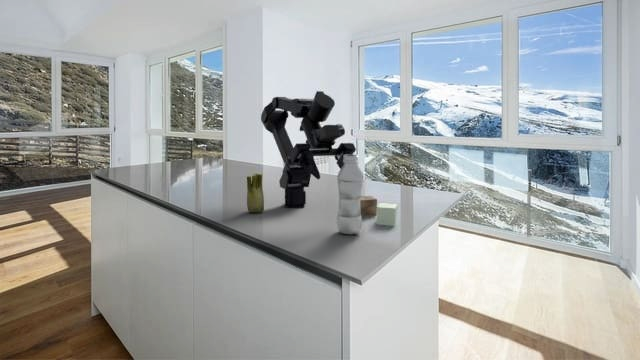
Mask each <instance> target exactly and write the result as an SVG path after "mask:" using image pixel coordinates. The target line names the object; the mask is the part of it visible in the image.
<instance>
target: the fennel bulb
mask: <svg viewBox="0 0 640 360" xmlns="http://www.w3.org/2000/svg"><path fill="white" fill-rule="evenodd" d="M246 186H247V189H246V190H247V191H246V192H247V193H246V207H247V211H248V213H253V214H257V213H262V212H263V211H264V210H265V207H264V206H265V196H264V191H263V174H261V173H254V174H252V176H251V175H247V176H246Z"/></svg>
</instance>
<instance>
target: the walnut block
mask: <svg viewBox="0 0 640 360" xmlns="http://www.w3.org/2000/svg"><path fill="white" fill-rule="evenodd" d="M360 199H361V201H360V208H361V217H365V216H366V217H369V216H370V215H371V216H377V206H378V199H377V198H375V197H374V196H372V195H361V198H360Z"/></svg>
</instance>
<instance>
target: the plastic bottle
mask: <svg viewBox="0 0 640 360" xmlns="http://www.w3.org/2000/svg"><path fill="white" fill-rule="evenodd" d="M359 162H360V161H359V155H358V154H353V155H343V163H344V165H343V167H342V168H341V169H340V168H339V171H338V173H337V187H338V210H337V216H336V221H335V226H336V229H337V231H338V232H339V233H341V234H343V235H344V234H345V235H356V234H359V233H360V232H361V230H362V226H363V219H362V216H361V208H360V201H361V199H360V198H361V196H362V190H363V184H364V178H365V177H364V173H363V172H362V169H361V168H360V166H359V165H358V164H359Z"/></svg>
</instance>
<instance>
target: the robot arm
mask: <svg viewBox="0 0 640 360" xmlns="http://www.w3.org/2000/svg"><path fill="white" fill-rule="evenodd" d="M335 105H336V104H335V100H334V99H333V98H332V97H331V96H330V95H328V94H325V93H324V91H322V90H321V91H320V90H316V92H315V94H314V97H313V98H288V97H286V96H274V97H272V100H271V102H270V103H268V104H267V105H266V106H264V108H263V109H262V113H261V114H260V115H261V116H260V121H261V123H262V124H263V127H264V129H265V130H267V131H268V132H269V133H271V135H272V137H273V138H274V141H275V144H276V146H277V148H278V149H277V150H278V151H279V154H280V156H281V158H282V161H283V165H284V166H283V167H282V174H281V177H280V179H279V187H280V188H282V189H284V208H304V207H305V205H306V204H307V203H306V202H307V199H306V198H307V195H306V193H307V192H306V190H305V188H309V187H310V181H311V177H312V176H313V177H314V178H315V179H316V180H320V179H321V174H320V171H319V168H318V167H317V164H316V162H315V158H314V157H334V159H335V161H336V162H335V163H336V165H337V166H338V167H339V170H340V169H341V168H342V167H343V165H344V163H343V155H354V154H355V152H356V150H357V149H356V147H355V144H354V143H353V142H341V143H340V144H339V145H338V147H337V148H333V146H334V145H335V144H336V143H337V142H336V140H337V139H339V138H341V137H343V136H344V135H345V134H346V130H345V127H344V125H343V124H341V123H336V124H325V125H324V124H323V123H324V122H326V121H327V119H328V118H329V116H330V114H331V113H332V111H333V109H334V108H335ZM278 109H279V110H278ZM289 113H290V115H291V116H292V117H294V118H295V119H301V121H300V126H299V131H300V132H304V134H305V137H306V140H305V143H304V142H301V143H299V142H297V143H296V144H295V145H293V143H292V141H291V138H290V136H289V134H288V132H287V129H286V127H285V126H286V124H287V122H288V121H287V119H288V118H289Z"/></svg>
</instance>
